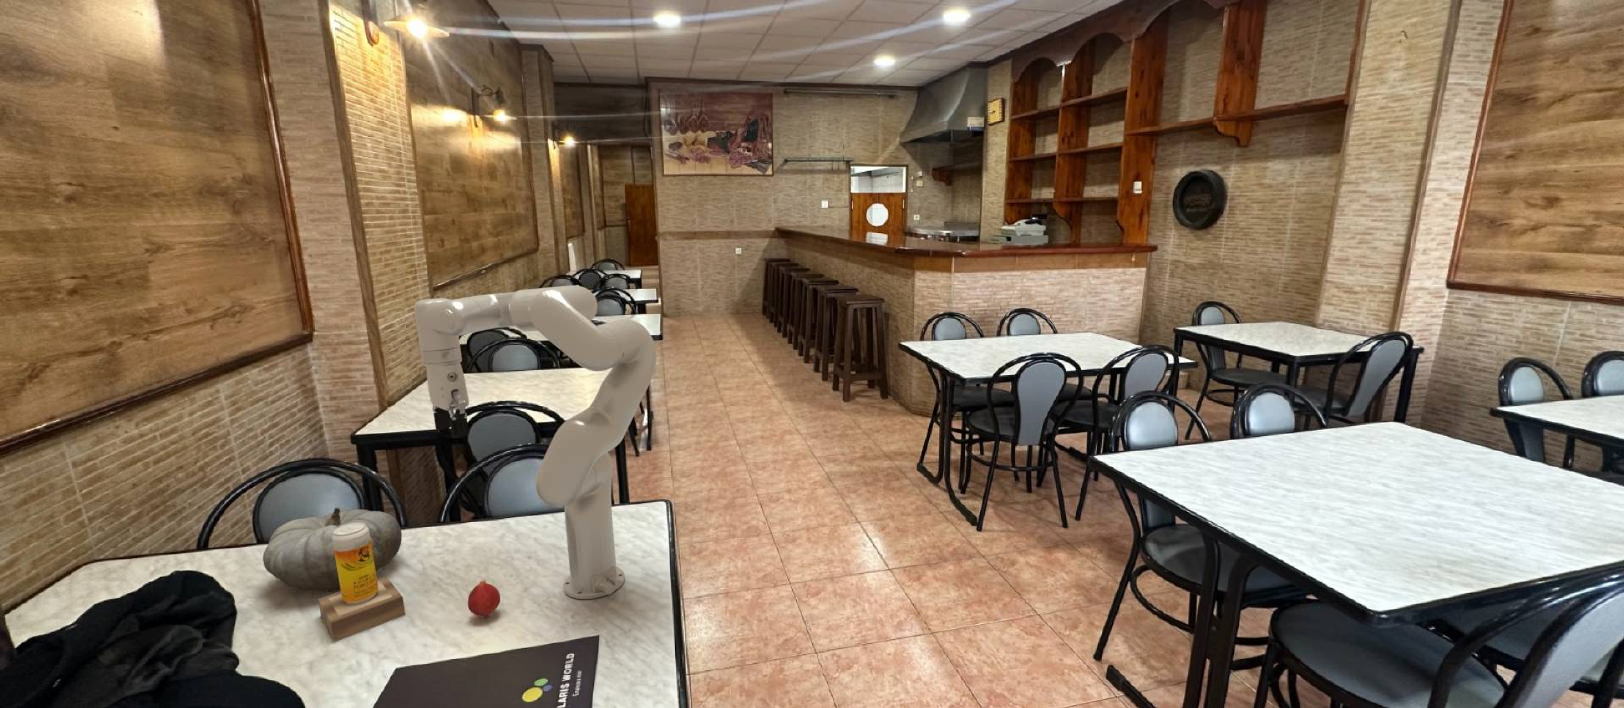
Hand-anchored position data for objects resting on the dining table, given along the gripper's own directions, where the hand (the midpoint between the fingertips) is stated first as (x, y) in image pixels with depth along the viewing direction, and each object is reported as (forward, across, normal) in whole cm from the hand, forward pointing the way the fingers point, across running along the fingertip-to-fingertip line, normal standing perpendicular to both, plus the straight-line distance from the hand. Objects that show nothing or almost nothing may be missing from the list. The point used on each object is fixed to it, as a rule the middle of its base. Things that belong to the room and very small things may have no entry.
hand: (452, 432), depth 146 cm
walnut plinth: (+33, -2, +22) cm, 39 cm away
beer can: (+29, -3, +22) cm, 36 cm away
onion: (+33, -22, +6) cm, 40 cm away
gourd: (+33, +20, +21) cm, 44 cm away
